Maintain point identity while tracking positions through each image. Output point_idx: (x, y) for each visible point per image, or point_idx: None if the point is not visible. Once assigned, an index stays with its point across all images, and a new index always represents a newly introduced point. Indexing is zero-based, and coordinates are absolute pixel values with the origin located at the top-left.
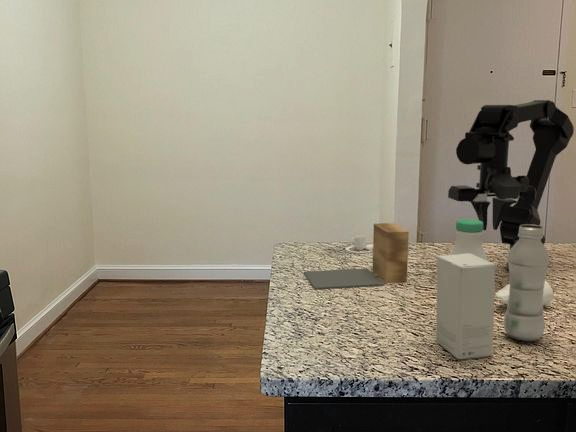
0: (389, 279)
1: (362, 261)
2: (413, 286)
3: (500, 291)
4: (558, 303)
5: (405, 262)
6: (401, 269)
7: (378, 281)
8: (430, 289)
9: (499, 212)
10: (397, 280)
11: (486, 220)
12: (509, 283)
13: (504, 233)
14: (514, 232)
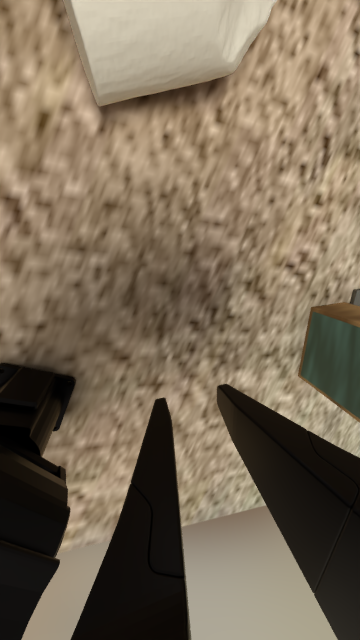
0: (346, 305)
1: (313, 418)
2: (313, 281)
3: (251, 16)
4: (15, 52)
5: (355, 320)
6: (346, 313)
7: (356, 305)
8: (295, 258)
9: (179, 519)
10: (330, 306)
11: (257, 419)
12: (222, 7)
13: (58, 485)
14: (15, 477)
